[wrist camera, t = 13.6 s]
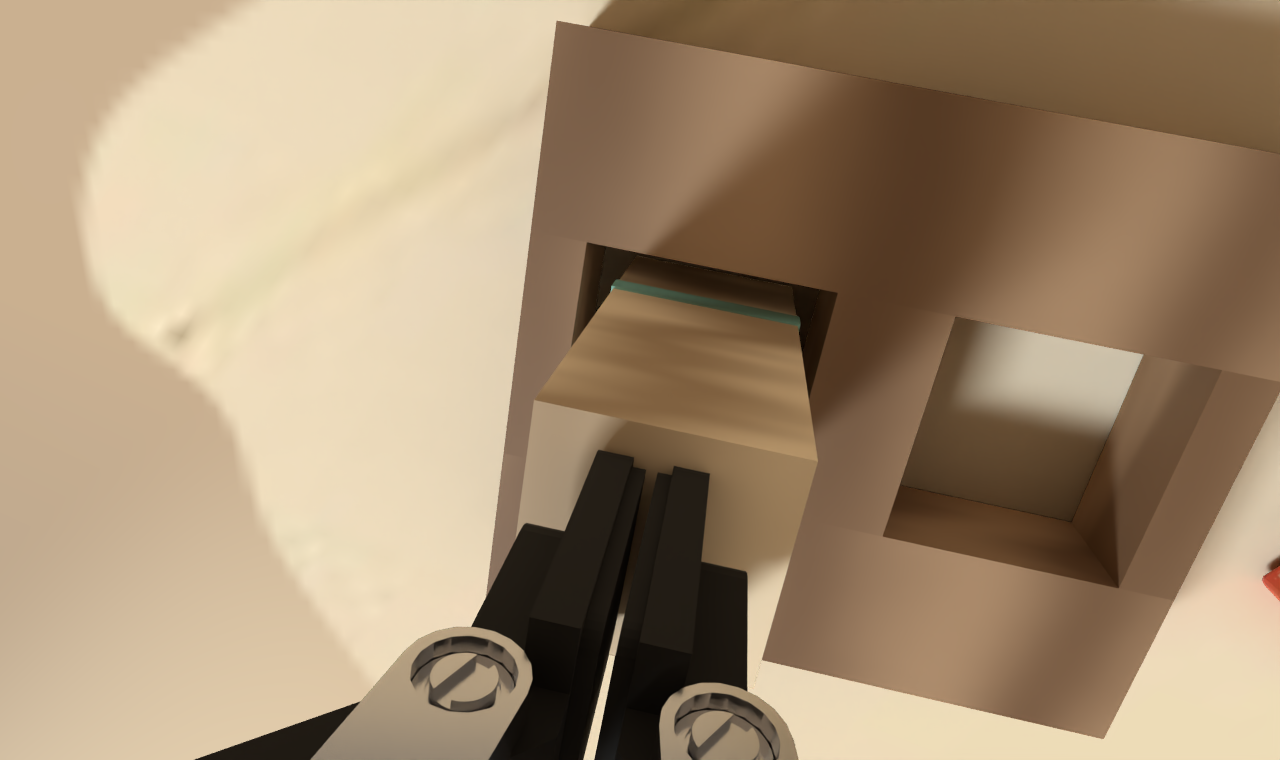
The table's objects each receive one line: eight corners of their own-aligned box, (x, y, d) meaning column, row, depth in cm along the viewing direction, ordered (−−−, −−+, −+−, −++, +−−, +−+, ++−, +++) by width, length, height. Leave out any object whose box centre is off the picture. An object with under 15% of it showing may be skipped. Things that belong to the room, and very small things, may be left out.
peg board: (1290, 159, 18) (1390, 174, 15) (1061, 658, 23) (1103, 739, 20) (585, 29, 19) (556, 21, 16) (517, 535, 24) (486, 596, 21)
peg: (794, 285, 20) (822, 459, 11) (757, 430, 22) (755, 692, 12) (635, 253, 20) (531, 395, 11) (610, 399, 22) (500, 631, 13)
